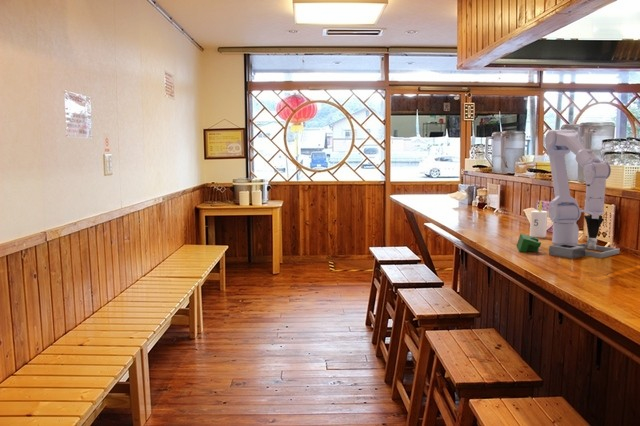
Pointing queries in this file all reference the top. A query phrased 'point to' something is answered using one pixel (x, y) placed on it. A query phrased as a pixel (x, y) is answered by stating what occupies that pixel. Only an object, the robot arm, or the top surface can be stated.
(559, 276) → the top surface
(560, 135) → the robot arm
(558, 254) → the block
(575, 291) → the top surface
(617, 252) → the tray
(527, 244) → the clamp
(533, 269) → the top surface
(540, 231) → the candle
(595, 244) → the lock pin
